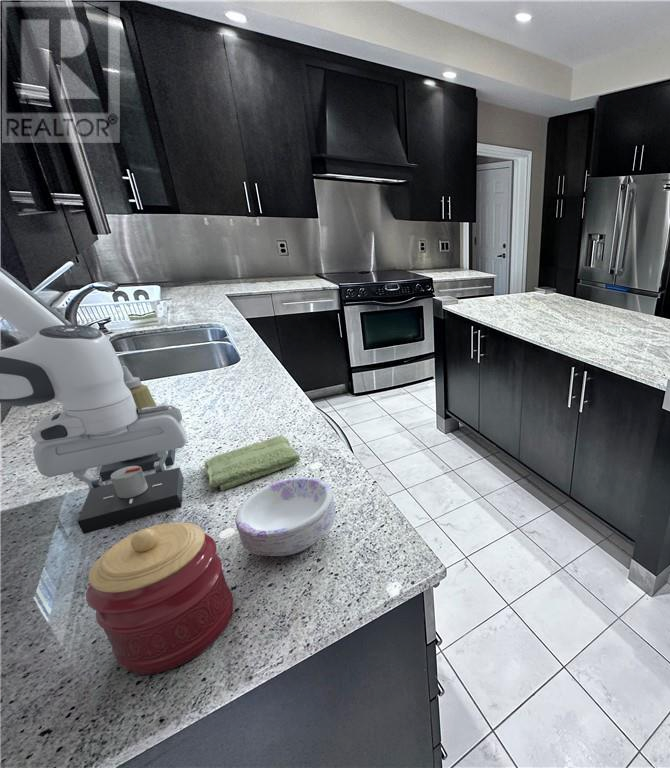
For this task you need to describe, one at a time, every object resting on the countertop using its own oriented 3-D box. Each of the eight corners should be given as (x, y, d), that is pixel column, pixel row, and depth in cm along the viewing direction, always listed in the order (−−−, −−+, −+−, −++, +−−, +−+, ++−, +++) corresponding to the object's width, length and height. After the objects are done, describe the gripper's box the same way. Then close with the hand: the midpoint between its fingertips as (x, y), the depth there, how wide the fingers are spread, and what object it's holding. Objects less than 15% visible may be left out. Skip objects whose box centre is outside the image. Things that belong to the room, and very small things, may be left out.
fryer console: (83, 534, 72) (76, 520, 71) (95, 500, 81) (89, 487, 79) (181, 506, 80) (176, 493, 79) (183, 478, 88) (179, 466, 87)
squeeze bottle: (163, 433, 105) (141, 368, 98) (121, 441, 101) (96, 374, 94) (166, 420, 111) (146, 359, 105) (127, 427, 107) (103, 364, 100)
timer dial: (116, 501, 76) (107, 480, 75) (120, 489, 80) (111, 468, 78) (146, 493, 79) (139, 473, 77) (149, 481, 82) (141, 462, 80)
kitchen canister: (235, 644, 55) (203, 546, 49) (108, 699, 49) (49, 593, 42) (234, 577, 65) (207, 487, 59) (128, 615, 59) (84, 518, 52)
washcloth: (202, 467, 92) (199, 455, 91) (286, 442, 103) (284, 431, 102) (212, 495, 83) (208, 483, 82) (303, 465, 95) (301, 453, 93)
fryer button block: (102, 481, 86) (96, 465, 85) (110, 459, 94) (104, 444, 92) (173, 464, 93) (168, 449, 91) (176, 445, 100) (171, 431, 99)
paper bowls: (231, 578, 65) (219, 540, 62) (259, 515, 79) (250, 481, 76) (332, 561, 69) (326, 524, 66) (342, 504, 83) (337, 471, 80)
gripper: (178, 396, 81) (196, 454, 86) (28, 421, 70) (60, 487, 75) (176, 407, 76) (196, 469, 81) (16, 437, 65) (51, 506, 70)
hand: (130, 478), depth 78 cm, fingers open, 8 cm apart
